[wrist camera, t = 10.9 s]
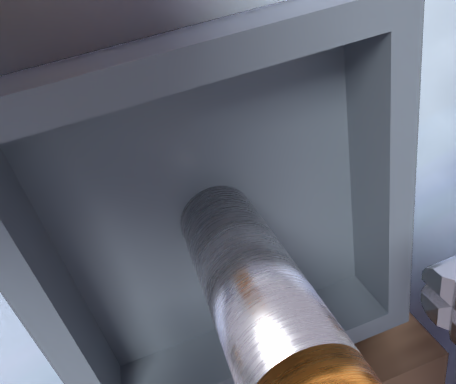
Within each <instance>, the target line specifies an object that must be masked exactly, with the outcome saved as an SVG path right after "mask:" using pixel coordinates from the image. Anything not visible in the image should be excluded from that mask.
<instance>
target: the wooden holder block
mask: <svg viewBox="0 0 456 384" xmlns="http://www.w3.org/2000/svg"><path fill="white" fill-rule="evenodd" d="M354 345H355V346H356V347H357V349H358V350H359V352H360V353H361V354H362V356H363V357H364V359H365V360H366V361H367V363H368V364H369V365H370V367H371V368H372V370H373V371H374V372H375V374H376V375H377V376H378V378H379V379H380V381H381V382H382V383H383V384H445V378H446V370H447V363H448V355H449V353H448V352H447V351H446V350H445V349H444V348H443V347H442V346H441V345H440V344H439V343H438V342H437V341H436V340H435V339H434V338H433V337H432V335H431V334H430V333H429V332H428V331H427V330H426V329H425V328H424V327H423V326H422V325H421V324H420V323H419V322H418V321H417V320H416V319H415V318H414V316H413V315H412V314H411V313H410V312H409V321H408V322H406V323H404V324H401V325H399V326H396V327H394V328H391V329H389V330H387V331H384V332H382V333H379V334H377V335H374V336H372V337H370V338H367V339H365V340H362V341H360V342H358V343H355V344H354Z"/></svg>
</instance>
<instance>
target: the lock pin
mask: <svg viewBox="0 0 456 384" xmlns="http://www.w3.org/2000/svg"><path fill="white" fill-rule="evenodd" d="M180 224H181V230H182V234H183V237H184V239H185V242H186V245H187V248H188V251H189V254H190V257H191V260H192V262H193V265H194V268H195V271H196V274H197V277H198V280H199V282H200V285H201V288H202V291H203V294H204V297H205V300H206V302H207V305H208V308H209V311H210V314H211V317H212V320H213V323H214V325H215V328H216V331H217V334H218V337H219V340H220V343H221V345H222V348H223V351H224V354H225V357H226V360H227V363H228V366H229V368H230V371H231V374H232V377H233V380H234V383H235V384H383V383H382V382H381V381H380V379H379V378H378V376H377V375H376V374H375V372H374V371H373V370H372V368H371V367H370V365H369V364H368V363H367V361H366V360H365V359H364V357H363V356H362V354H361V353H360V352H359V350H358V349H357V347H356V346H355V345H354V343H353V342H352V341H351V339H350V338H349V336H348V335H347V334H346V332H345V331H344V330H343V328H342V327H341V325H340V324H339V323H338V321H337V320H336V319H335V317H334V316H333V314H332V313H331V312H330V310H329V309H328V308H327V306H326V305H325V303H324V302H323V301H322V299H321V298H320V296H319V295H318V294H317V292H316V291H315V290H314V288H313V287H312V285H311V284H310V283H309V281H308V280H307V279H306V277H305V276H304V274H303V273H302V272H301V270H300V269H299V268H298V266H297V265H296V263H295V262H294V261H293V259H292V258H291V257H290V255H289V254H288V252H287V251H286V250H285V248H284V247H283V245H282V244H281V243H280V241H279V240H278V239H277V237H276V236H275V234H274V233H273V232H272V230H271V229H270V228H269V226H268V225H267V223H266V222H265V221H264V219H263V218H262V217H261V215H260V214H259V212H258V211H257V210H256V208H255V207H254V206H253V204H252V203H251V201H250V200H249V199H248V197H247V196H246V195H245V194H244V193H243V192H242V191H240V190H238V189H236V188H234V187H230V186H214V187H210V188H207V189H205V190H203V191H201V192H199V193H198V194H196V195H195V196H194V197H193V198H192V199H191V200H190V201H189V202H188V203H187V205H186V206H185V208H184V210H183V212H182V216H181V223H180Z"/></svg>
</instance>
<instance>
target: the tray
mask: <svg viewBox="0 0 456 384" xmlns="http://www.w3.org/2000/svg"><path fill="white" fill-rule="evenodd" d="M424 2H425V0H287V1H283V2H279V3H275V4H271V5H268V6H264V7H260V8H256V9H252V10H249V11H245V12H241V13H237V14H233V15H230V16H226V17H222V18H218V19H214V20H211V21H207V22H203V23H199V24H195V25H192V26H188V27H184V28H180V29H177V30H173V31H169V32H165V33H161V34H158V35H154V36H150V37H146V38H142V39H139V40H135V41H131V42H127V43H123V44H120V45H116V46H112V47H108V48H104V49H101V50H97V51H93V52H89V53H85V54H82V55H78V56H74V57H70V58H67V59H63V60H59V61H55V62H51V63H48V64H44V65H40V66H36V67H32V68H29V69H25V70H21V71H17V72H13V73H10V74H6V75H2V76H0V292H1V294H2V295H3V297H4V298H5V300H6V301H7V302H8V304H9V305H10V307H11V308H12V310H13V311H14V313H15V314H16V315H17V317H18V318H19V320H20V321H21V323H22V324H23V326H24V327H25V328H26V330H27V331H28V333H29V334H30V336H31V337H32V339H33V340H34V341H35V343H36V344H37V346H38V347H39V349H40V350H41V352H42V353H43V354H44V356H45V357H46V359H47V360H48V362H49V363H50V365H51V366H52V367H53V369H54V370H55V372H56V373H57V375H58V376H59V378H60V379H61V380H62V382H63V383H64V384H235V383H234V380H233V377H232V374H231V371H230V368H229V366H228V363H227V360H226V357H225V354H224V351H223V348H222V345H221V343H220V340H219V337H218V334H217V331H216V328H215V325H214V323H213V320H212V317H211V314H210V311H209V308H208V305H207V302H206V300H205V297H204V294H203V291H202V288H201V285H200V282H199V280H198V277H197V274H196V271H195V268H194V265H193V262H192V260H191V257H190V254H189V251H188V248H187V245H186V242H185V239H184V237H183V234H182V230H181V224H180V223H181V216H182V212H183V210H184V208H185V206H186V205H187V203H188V202H189V201H190V200H191V199H192V198H193V197H194V196H195V195H196V194H198V193H199V192H201V191H203V190H205V189H207V188H210V187H214V186H230V187H234V188H236V189H238V190H240V191H242V192H243V193H244V194H245V195H246V196H247V197H248V199H249V200H250V201H251V203H252V204H253V206H254V207H255V208H256V210H257V211H258V212H259V214H260V215H261V217H262V218H263V219H264V221H265V222H266V223H267V225H268V226H269V228H270V229H271V230H272V232H273V233H274V234H275V236H276V237H277V239H278V240H279V241H280V243H281V244H282V245H283V247H284V248H285V250H286V251H287V252H288V254H289V255H290V257H291V258H292V259H293V261H294V262H295V263H296V265H297V266H298V268H299V269H300V270H301V272H302V273H303V274H304V276H305V277H306V279H307V280H308V281H309V283H310V284H311V285H312V287H313V288H314V290H315V291H316V292H317V294H318V295H319V296H320V298H321V299H322V301H323V302H324V303H325V305H326V306H327V308H328V309H329V310H330V312H331V313H332V314H333V316H334V317H335V319H336V320H337V321H338V323H339V324H340V325H341V327H342V328H343V330H344V331H345V332H346V334H347V335H348V336H349V338H350V339H351V341H352V342H353V343H354V344H355V343H358V342H360V341H362V340H365V339H367V338H370V337H372V336H374V335H377V334H379V333H382V332H384V331H387V330H389V329H391V328H394V327H396V326H399V325H401V324H404V323H406V322H408V321H409V307H410V286H411V266H412V246H413V226H414V205H415V185H416V165H417V144H418V124H419V104H420V83H421V63H422V43H423V22H424Z"/></svg>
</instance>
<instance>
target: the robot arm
mask: <svg viewBox="0 0 456 384" xmlns="http://www.w3.org/2000/svg"><path fill="white" fill-rule="evenodd" d="M422 280H423V281H424V282H425V283H426V284H425V286H424V287H423V289H422V290H421V303H422V306H423V308H424V311H425V312H426V314H427V315H428V317H429V318H430V319H431V320H432V321H433V322H434V323H435V325H436V326H438V327H441V328H444V329H446V330H449V335H450V340H451V341H452V342H453V343H454V344H455V345H456V255H455V256H452V257H450V258H448V259H445V260H443V261H440V262H438V263H435V264H433V265H431V266H428V267H426V268H425V269H424V270H423V272H422Z"/></svg>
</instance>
